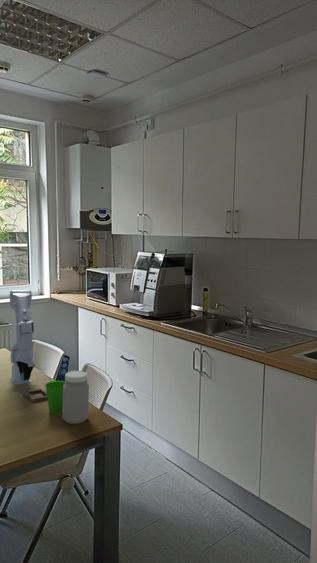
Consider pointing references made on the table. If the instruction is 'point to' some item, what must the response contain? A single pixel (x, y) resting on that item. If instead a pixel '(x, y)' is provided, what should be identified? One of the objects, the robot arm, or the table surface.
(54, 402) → the cup
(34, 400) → the tray
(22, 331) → the robot arm
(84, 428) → the table surface
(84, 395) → the jar
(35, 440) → the table surface
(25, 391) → the coaster
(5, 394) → the table surface
